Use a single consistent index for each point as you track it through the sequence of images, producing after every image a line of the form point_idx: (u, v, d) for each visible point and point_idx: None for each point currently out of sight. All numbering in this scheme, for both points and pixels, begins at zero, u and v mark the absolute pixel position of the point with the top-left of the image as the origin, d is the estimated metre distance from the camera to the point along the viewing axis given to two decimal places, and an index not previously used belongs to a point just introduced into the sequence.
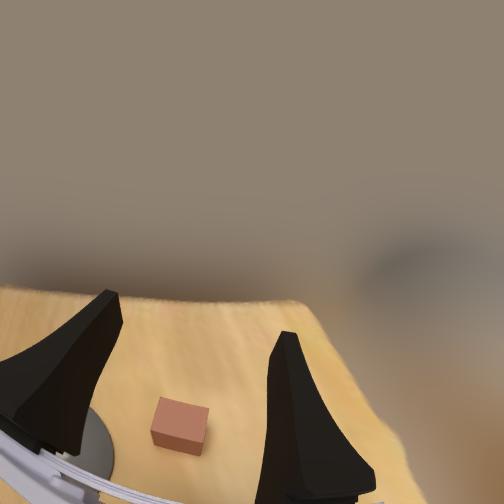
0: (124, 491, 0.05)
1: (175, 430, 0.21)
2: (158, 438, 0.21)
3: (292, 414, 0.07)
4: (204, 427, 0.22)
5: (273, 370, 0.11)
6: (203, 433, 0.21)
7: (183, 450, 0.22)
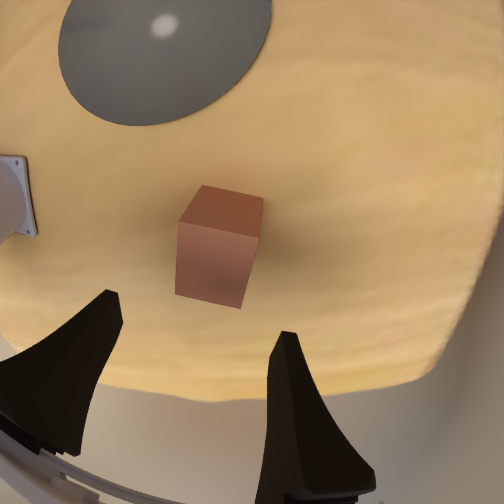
0: (124, 491, 0.05)
1: (188, 261, 0.15)
2: None
3: (292, 414, 0.07)
4: (202, 299, 0.16)
5: (273, 370, 0.11)
6: (191, 296, 0.16)
7: None
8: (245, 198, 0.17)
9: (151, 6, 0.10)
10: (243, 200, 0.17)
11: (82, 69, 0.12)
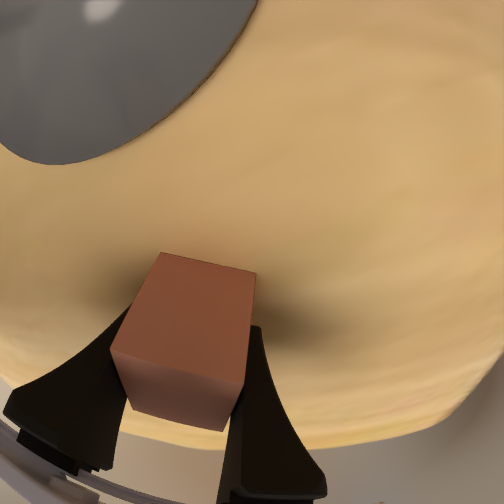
0: (124, 491, 0.05)
1: (139, 389, 0.08)
2: None
3: (242, 408, 0.07)
4: (170, 420, 0.10)
5: None
6: (154, 415, 0.10)
7: None
8: (226, 279, 0.11)
9: None
10: (222, 284, 0.10)
11: None
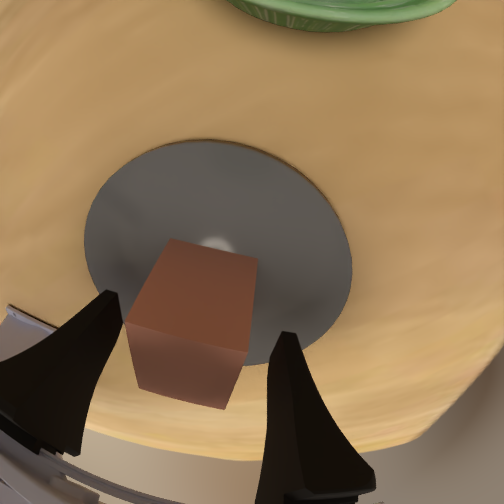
0: (124, 491, 0.05)
1: (148, 364, 0.09)
2: None
3: (292, 414, 0.07)
4: (174, 397, 0.11)
5: (273, 370, 0.11)
6: (159, 393, 0.11)
7: None
8: (231, 263, 0.12)
9: None
10: (227, 267, 0.11)
11: None
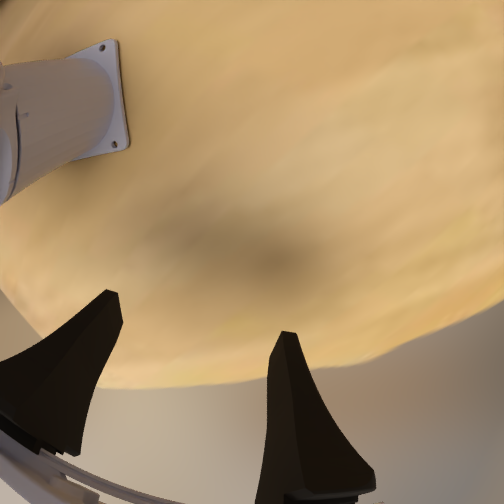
0: (124, 491, 0.05)
1: None
2: None
3: (292, 414, 0.07)
4: None
5: (273, 370, 0.11)
6: None
7: None
8: None
9: None
10: None
11: None
